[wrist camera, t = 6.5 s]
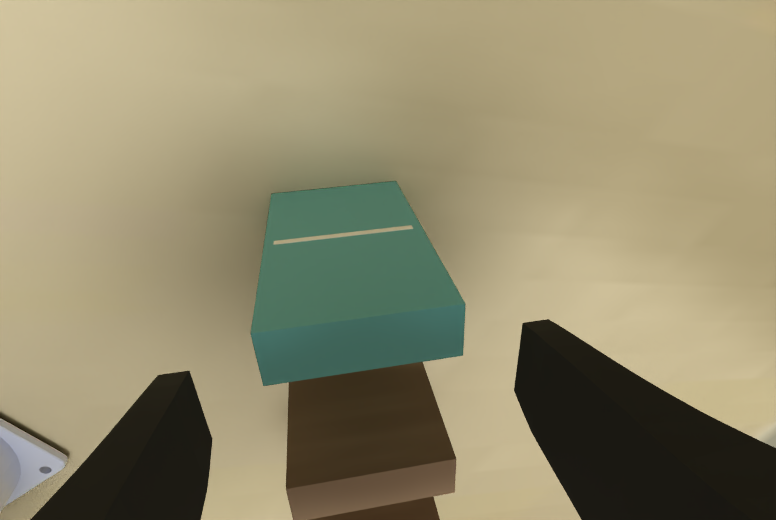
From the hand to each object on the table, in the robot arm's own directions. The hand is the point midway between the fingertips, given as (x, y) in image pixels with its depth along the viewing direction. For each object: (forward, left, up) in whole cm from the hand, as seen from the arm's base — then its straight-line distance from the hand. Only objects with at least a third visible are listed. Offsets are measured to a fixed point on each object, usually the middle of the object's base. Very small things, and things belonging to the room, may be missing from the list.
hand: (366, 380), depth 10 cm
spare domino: (0, 0, -10) cm, 10 cm away
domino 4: (-3, -5, -10) cm, 12 cm away
